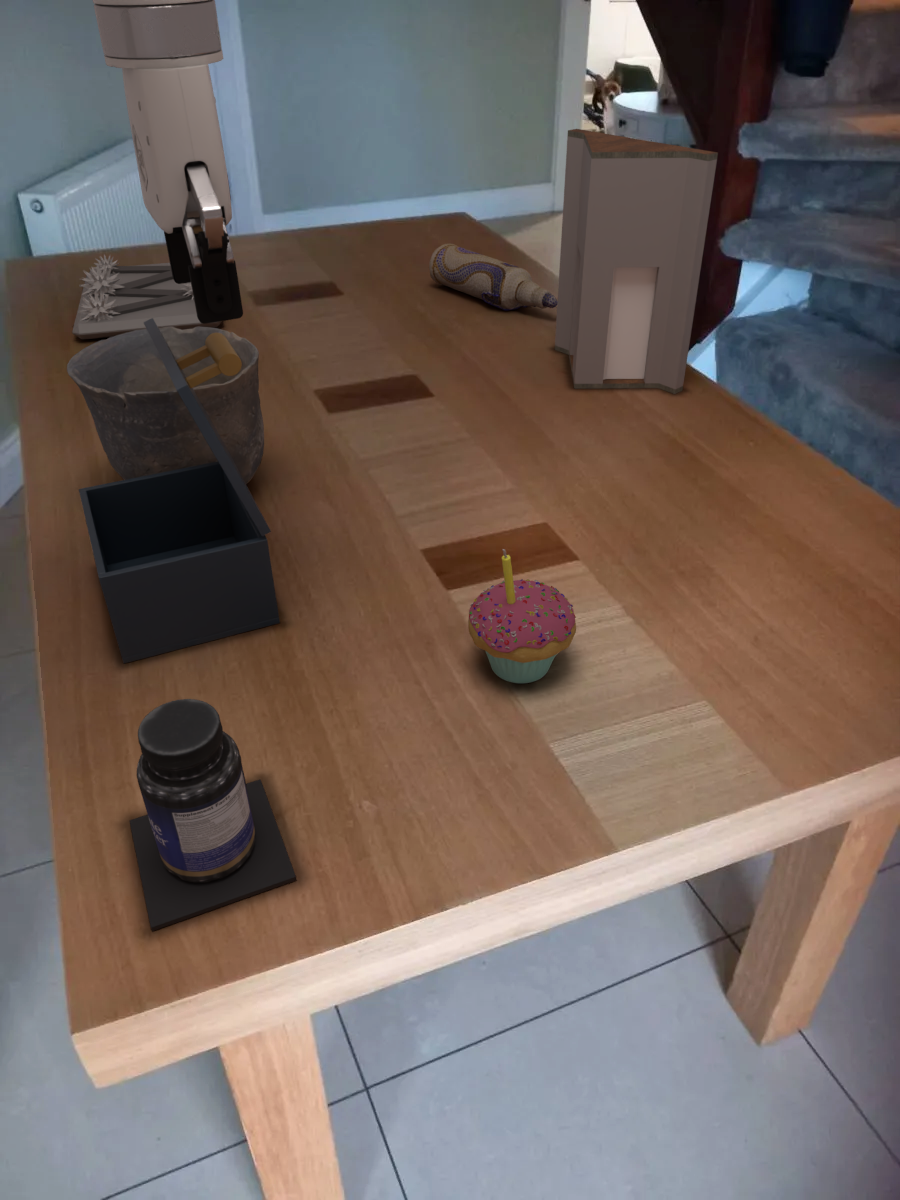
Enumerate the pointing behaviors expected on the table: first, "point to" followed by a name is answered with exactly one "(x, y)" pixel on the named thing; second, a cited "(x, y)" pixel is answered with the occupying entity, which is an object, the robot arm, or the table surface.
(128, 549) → the chest
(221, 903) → the mat
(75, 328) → the gray box with spikes
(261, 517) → the lid
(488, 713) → the table surface
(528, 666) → the cupcake
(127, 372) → the bowl
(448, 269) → the decorative bottle
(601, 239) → the cabinet
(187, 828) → the pill bottle
